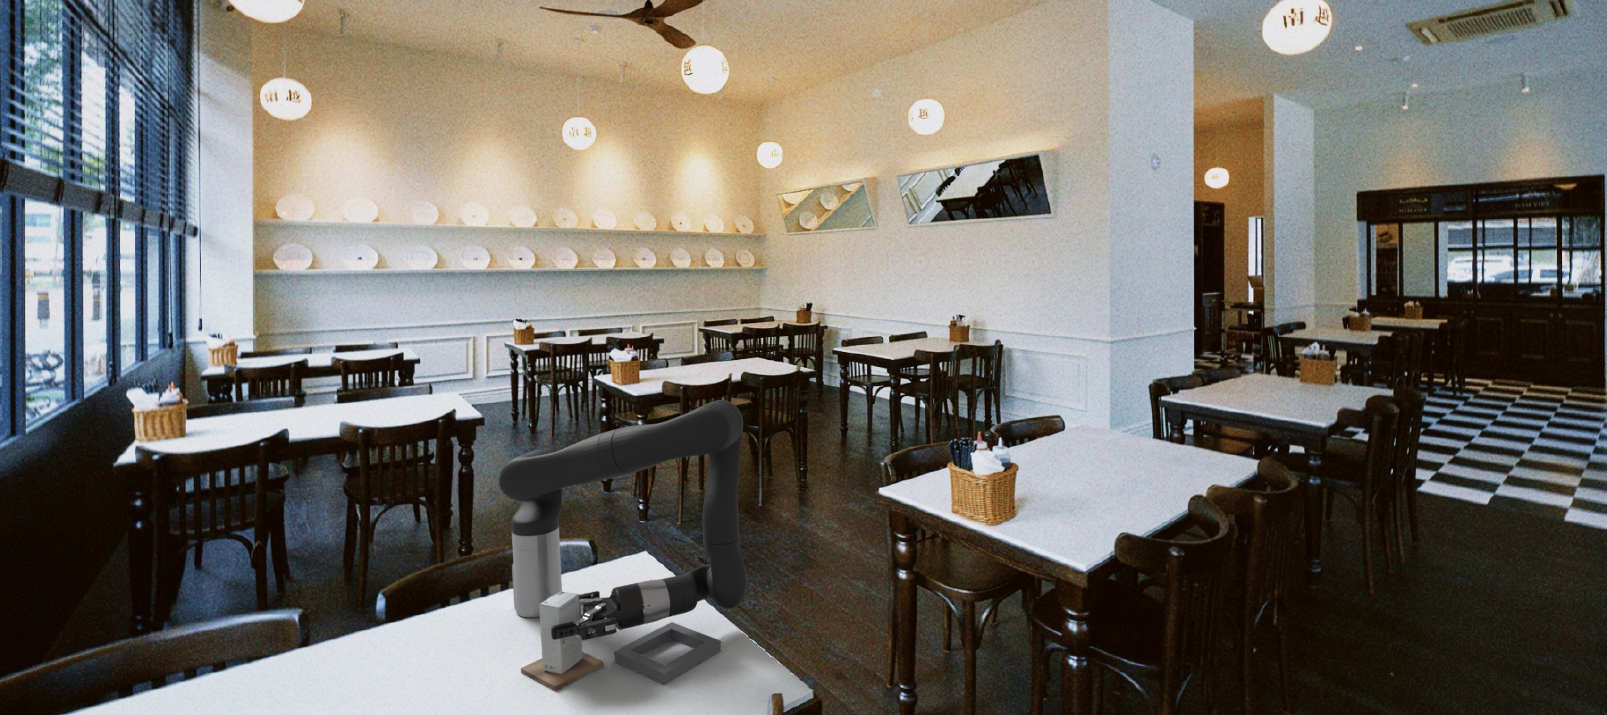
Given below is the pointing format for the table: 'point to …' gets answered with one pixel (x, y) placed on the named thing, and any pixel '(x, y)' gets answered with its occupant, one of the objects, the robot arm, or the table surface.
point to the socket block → (666, 673)
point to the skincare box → (563, 650)
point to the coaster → (561, 680)
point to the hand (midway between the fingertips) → (547, 624)
